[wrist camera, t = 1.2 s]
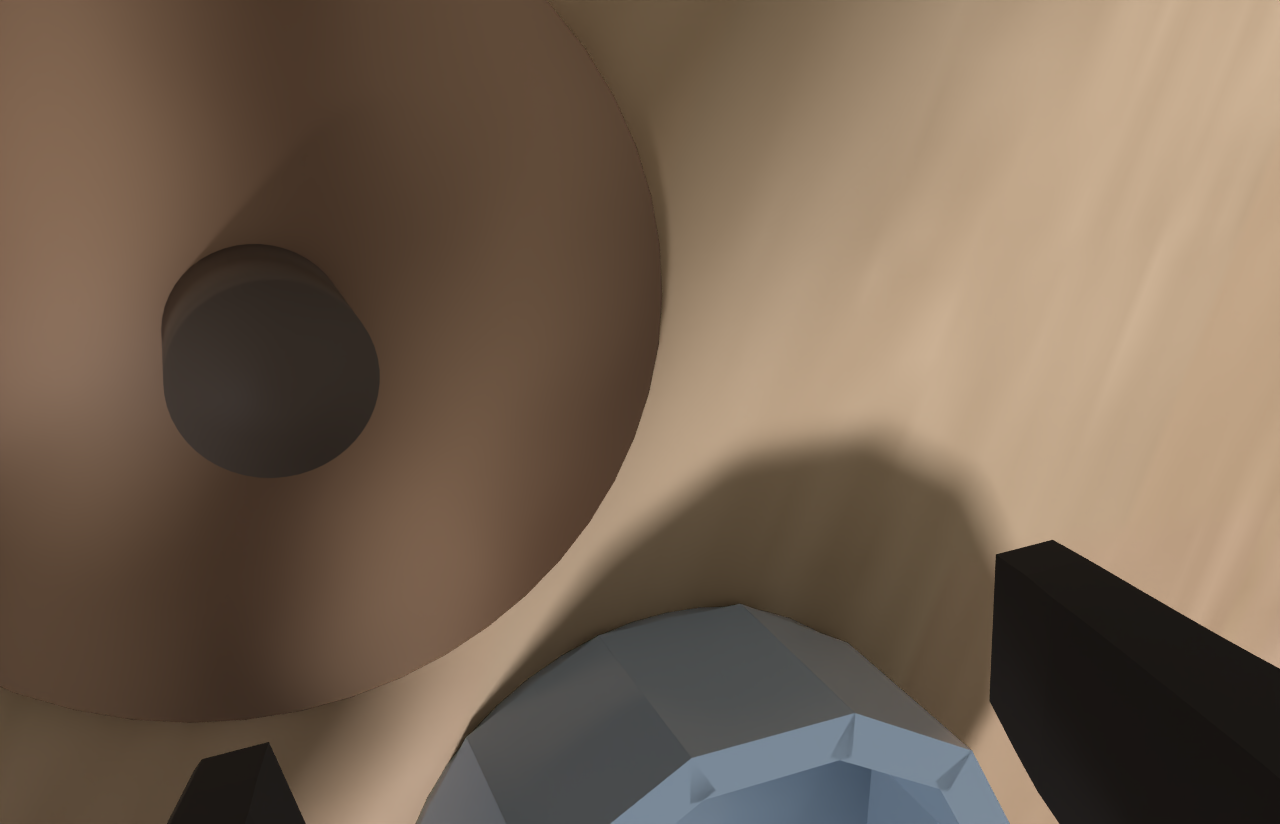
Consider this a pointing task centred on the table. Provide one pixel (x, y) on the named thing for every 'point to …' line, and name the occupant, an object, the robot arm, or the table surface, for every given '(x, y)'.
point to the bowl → (711, 736)
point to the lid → (301, 339)
